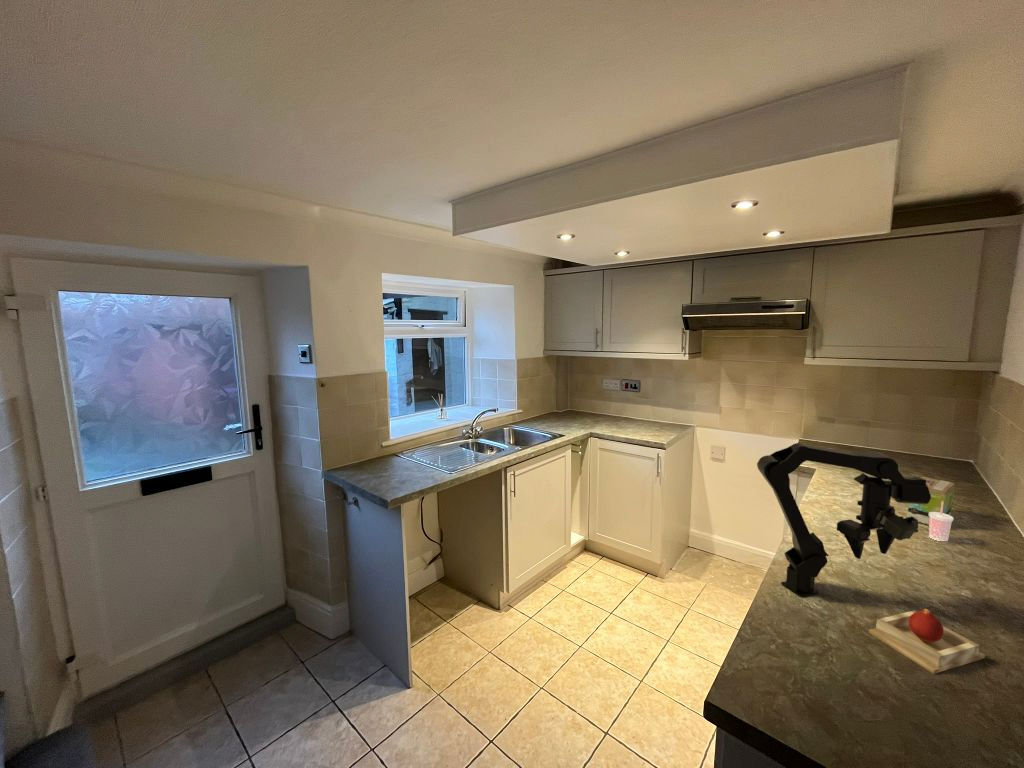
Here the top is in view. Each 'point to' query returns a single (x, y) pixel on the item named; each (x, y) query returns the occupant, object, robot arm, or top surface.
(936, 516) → the beverage cup
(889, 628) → the tray
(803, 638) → the top surface
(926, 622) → the onion
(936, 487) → the tea box
